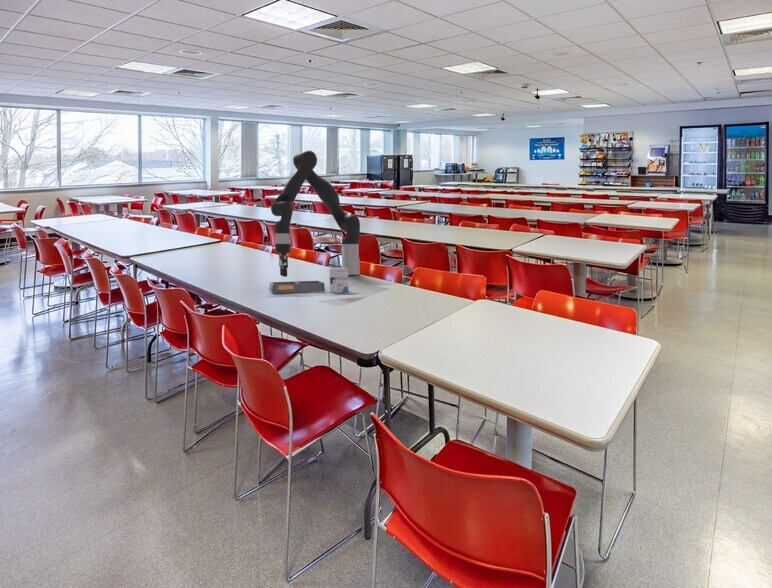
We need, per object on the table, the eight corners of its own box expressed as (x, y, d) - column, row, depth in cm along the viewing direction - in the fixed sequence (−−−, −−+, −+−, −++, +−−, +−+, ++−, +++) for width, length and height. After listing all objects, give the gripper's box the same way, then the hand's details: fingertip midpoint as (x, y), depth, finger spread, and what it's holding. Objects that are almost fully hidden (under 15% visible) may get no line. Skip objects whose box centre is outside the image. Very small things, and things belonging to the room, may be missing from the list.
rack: (318, 289, 249) (318, 280, 249) (324, 291, 236) (324, 282, 236) (269, 290, 241) (269, 282, 240) (272, 293, 228) (272, 284, 228)
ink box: (341, 291, 240) (341, 267, 239) (348, 291, 237) (348, 267, 235) (329, 292, 233) (328, 268, 232) (336, 293, 230) (335, 268, 229)
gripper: (292, 242, 228) (293, 276, 230) (288, 242, 242) (289, 274, 244) (276, 243, 226) (277, 277, 228) (273, 242, 239) (274, 275, 241)
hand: (283, 276), depth 236 cm, fingers open, 8 cm apart
